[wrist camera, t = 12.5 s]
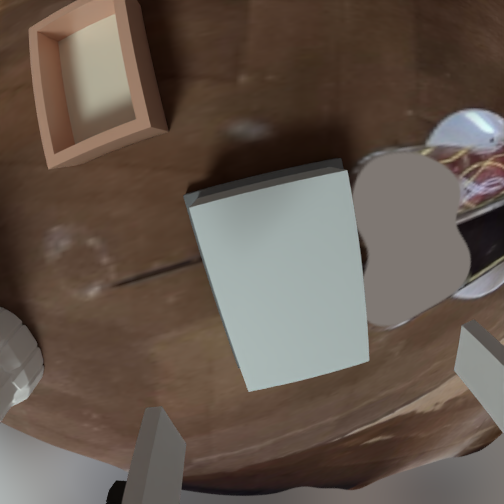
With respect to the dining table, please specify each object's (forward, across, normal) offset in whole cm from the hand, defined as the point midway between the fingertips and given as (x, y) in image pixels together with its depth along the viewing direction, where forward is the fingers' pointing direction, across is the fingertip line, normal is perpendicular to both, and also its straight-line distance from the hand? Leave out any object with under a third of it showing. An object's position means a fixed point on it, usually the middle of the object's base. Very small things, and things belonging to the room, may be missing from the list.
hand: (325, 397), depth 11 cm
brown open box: (+15, -10, +18) cm, 26 cm away
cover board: (+14, 0, 0) cm, 14 cm away
